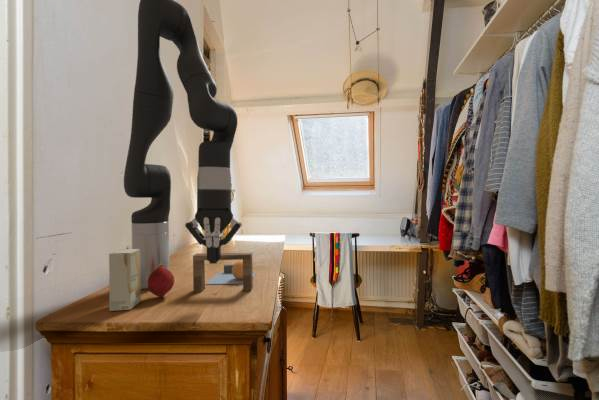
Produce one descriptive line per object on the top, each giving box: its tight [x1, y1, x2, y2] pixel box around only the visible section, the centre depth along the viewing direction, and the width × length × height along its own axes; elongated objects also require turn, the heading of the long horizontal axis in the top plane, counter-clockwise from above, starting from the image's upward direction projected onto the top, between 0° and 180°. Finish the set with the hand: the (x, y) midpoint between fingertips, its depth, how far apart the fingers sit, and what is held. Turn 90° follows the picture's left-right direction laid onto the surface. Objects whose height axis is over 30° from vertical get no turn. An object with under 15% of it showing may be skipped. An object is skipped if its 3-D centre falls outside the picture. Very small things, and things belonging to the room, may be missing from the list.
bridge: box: [192, 252, 254, 293], centre depth 77 cm, size 3×14×9 cm, turn 91°
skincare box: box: [108, 248, 142, 312], centre depth 66 cm, size 6×4×12 cm
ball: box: [232, 260, 243, 280], centre depth 87 cm, size 6×6×6 cm
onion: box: [147, 264, 175, 298], centre depth 72 cm, size 6×6×8 cm
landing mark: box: [205, 272, 256, 286], centre depth 88 cm, size 12×12×1 cm
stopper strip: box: [223, 264, 234, 273], centre depth 95 cm, size 8×1×2 cm, turn 91°
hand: (213, 262), depth 69 cm, fingers closed
